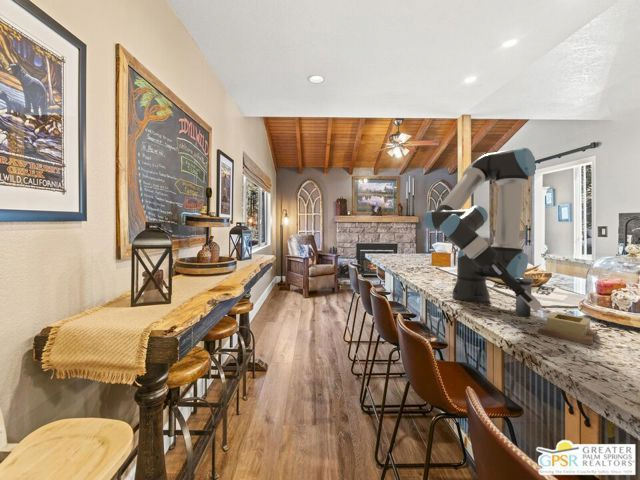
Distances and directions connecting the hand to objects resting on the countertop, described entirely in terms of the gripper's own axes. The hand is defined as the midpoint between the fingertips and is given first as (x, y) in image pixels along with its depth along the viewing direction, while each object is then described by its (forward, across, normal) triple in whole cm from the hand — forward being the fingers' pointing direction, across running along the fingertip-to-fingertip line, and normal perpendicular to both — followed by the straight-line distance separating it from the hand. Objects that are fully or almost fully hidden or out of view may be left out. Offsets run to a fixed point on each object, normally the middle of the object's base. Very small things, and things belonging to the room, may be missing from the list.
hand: (537, 306), depth 98 cm
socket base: (+11, +1, 0) cm, 11 cm away
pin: (0, 0, -5) cm, 5 cm away
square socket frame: (+9, +1, +1) cm, 10 cm away
